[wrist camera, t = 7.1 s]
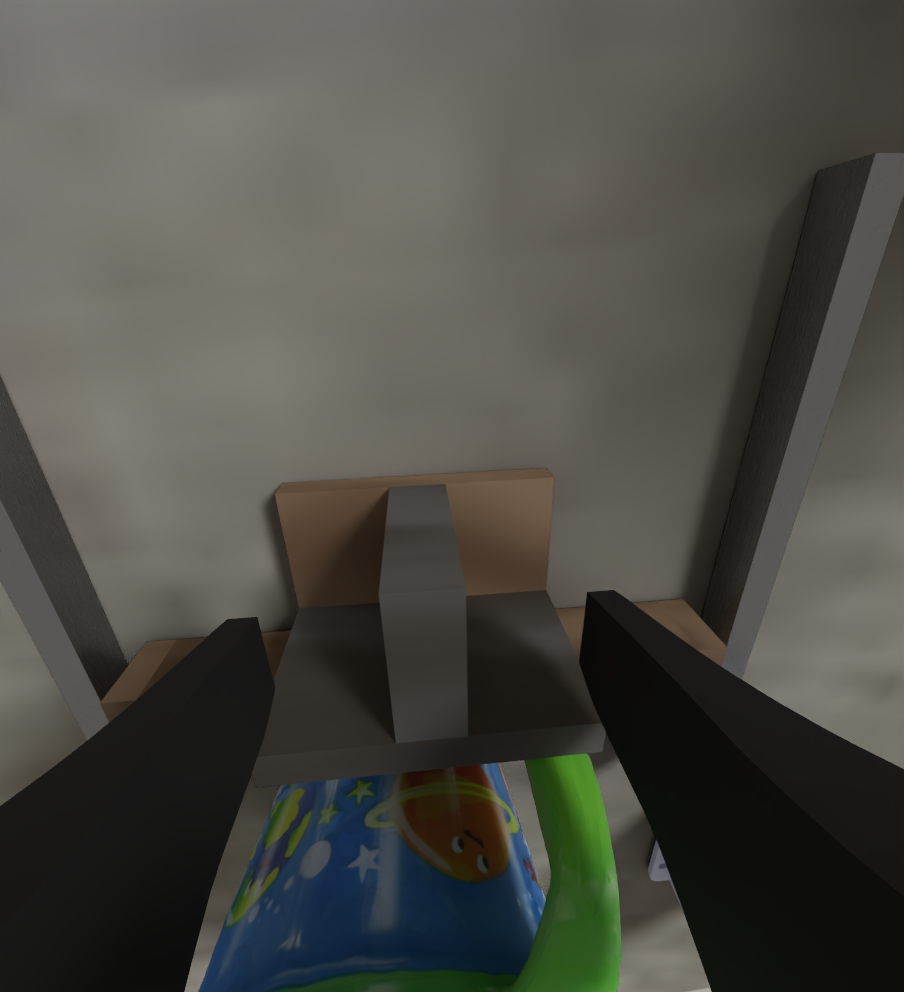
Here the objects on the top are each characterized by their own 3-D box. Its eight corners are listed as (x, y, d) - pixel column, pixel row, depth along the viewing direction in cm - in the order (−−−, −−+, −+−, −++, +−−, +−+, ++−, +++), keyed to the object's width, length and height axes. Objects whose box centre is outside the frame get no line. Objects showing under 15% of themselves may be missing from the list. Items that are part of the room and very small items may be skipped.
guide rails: (704, 689, 19) (728, 720, 17) (133, 743, 17) (109, 782, 16) (855, 170, 11) (917, 152, 10) (-137, 179, 10) (-229, 159, 8)
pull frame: (650, 737, 19) (740, 901, 14) (203, 783, 18) (119, 982, 13) (716, 458, 14) (900, 555, 9) (86, 494, 13) (-141, 634, 7)
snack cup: (372, 869, 22) (347, 1287, 13) (175, 790, 18) (-64, 1293, 9) (618, 689, 18) (835, 1095, 9) (430, 543, 15) (469, 973, 5)
